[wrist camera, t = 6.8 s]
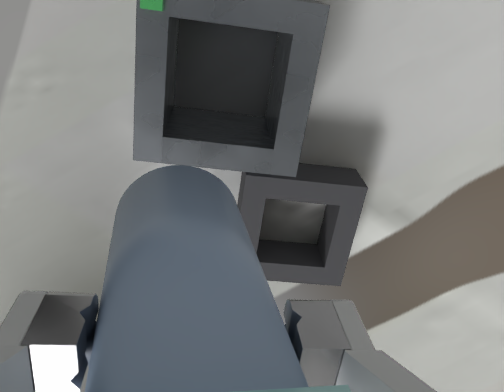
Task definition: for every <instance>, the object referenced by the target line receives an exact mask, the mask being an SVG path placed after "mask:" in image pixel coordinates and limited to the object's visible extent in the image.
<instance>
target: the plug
mask: <svg viewBox="0 0 504 392" xmlns="http://www.w3.org/2000/svg"><path fill="white" fill-rule="evenodd" d="M85 392H351V390H350V388H349V386H348V385H334V386H317V387H309V386H308V383H307V381H306V378H305V376H304V373H303V371H302V368H301V366H300V363H299V361H298V358H297V356H296V353H295V351H294V348H293V345H292V343H291V340H290V338H289V335H288V333H287V330H286V328H285V325H284V323H283V320H282V318H281V315H280V313H279V310H278V307H277V305H276V302H275V300H274V297H273V295H272V292H271V290H270V287H269V285H268V282H267V280H266V277H265V275H264V272H263V269H262V267H261V264H260V262H259V259H258V257H257V254H256V252H255V249H254V247H253V244H252V242H251V239H250V237H249V234H248V231H247V229H246V226H245V224H244V221H243V219H242V216H241V214H240V211H239V209H238V206H237V204H236V201H235V199H234V196H233V195H232V193H231V191H230V190H229V188H228V187H227V186H226V185H225V184H224V183H223V182H222V181H221V180H220V179H219V178H217V177H216V176H215V175H213V174H211V173H209V172H207V171H205V170H203V169H200V168H196V167H192V166H185V165H173V166H166V167H162V168H158V169H155V170H153V171H150V172H148V173H146V174H144V175H143V176H141V177H140V178H138V179H137V180H136V181H134V182H133V183H132V184H131V185H130V186H129V187H128V189H127V190H126V191H125V192H124V194H123V196H122V198H121V199H120V202H119V204H118V207H117V211H116V215H115V221H114V227H113V233H112V238H111V244H110V250H109V255H108V261H107V267H106V272H105V278H104V284H103V289H102V295H101V301H100V307H99V312H98V318H97V324H96V329H95V335H94V341H93V346H92V352H91V358H90V364H89V369H88V375H87V381H86V386H85Z"/></svg>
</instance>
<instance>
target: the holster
mask: <svg viewBox="0 0 504 392" xmlns="http://www.w3.org/2000/svg"><path fill="white" fill-rule="evenodd" d="M367 189H368V187H367V186H366V184H365V183H364V181H363V180H362V178H361V176H360V175H359V173H358V172H357V170H356V169H348V168H339V167H329V166H320V165H311V164H301V163H299V164H298V169H297V174H296V177H290V176H280V175H271V174H261V173H251V172H242V176H241V183H240V190H239V198H238V205H237V206H238V209H239V211H240V214H241V216H242V219H243V221H244V224H245V226H246V229H247V231H248V234H249V237H250V239H251V242H252V244H253V247H254V249H255V252H256V254H257V257H258V259H259V262H260V264H261V267H262V269H263V272H264V275H265V277H266V280H268V281H281V282H294V283H307V284H320V285H334V286H341V282H342V279H343V275H344V272H345V268H346V264H347V261H348V257H349V254H350V250H351V246H352V243H353V239H354V236H355V232H356V228H357V225H358V221H359V218H360V214H361V211H362V207H363V203H364V200H365V196H366V193H367ZM266 198H267V199H277V200H287V201H297V202H308V203H318V204H326V209H325V213H324V217H323V221H322V225H321V230H320V234H319V238H318V242H317V245H316V244H305V243H293V242H282V241H271V240H259V236H260V230H261V224H262V219H263V213H264V207H265V201H266Z"/></svg>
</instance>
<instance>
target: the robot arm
mask: <svg viewBox="0 0 504 392" xmlns="http://www.w3.org/2000/svg"><path fill="white" fill-rule="evenodd" d="M98 309H99V307H98V296H97V295H96V294H90V293H70V292H50V291H49V292H45V291H23V292H22V293H20V294H19V295H18V297H17V299H16V301H15V302H14V304H13V306H12V307H11V309H10V311H9V312H8V314H7V316H6V318H5V319H4V321H3V323H2V324H1V326H0V392H85V386H86V381H87V375H88V369H89V364H90V358H91V352H92V346H93V341H94V335H95V329H96V324H97V322H96V321H95V319H96V316H97V313H98ZM284 318H285V322H286V324H285V328H286V330H287V333H288V335H289V338H290V340H291V343H292V345H293V348H294V351H295V353H296V356H297V358H298V361H299V363H300V366H301V368H302V371H303V373H304V376H305V378H306V381H307V383H308V386H309V387H317V386H334V385H348V386H349V388H350V390H351V392H437V391H435V390H434V389H433V388H431V387H430V386H429V385H427V384H426V383H425V382H423V381H422V380H421V379H419V378H418V377H417V376H415V375H414V374H413V373H411V372H410V371H409V370H407V369H406V368H405V367H403V366H402V365H401V364H399V363H398V362H397V361H395V360H394V359H393V358H391V357H390V356H389V355H387V354H386V353H385V352H383V351H381V350H375V348H374V346H373V344H372V341H371V339H370V337H369V335H368V333H367V331H366V329H365V326H364V324H363V322H362V320H361V318H360V316H359V313H358V311H357V309H356V307H355V305H354V303H353V302H352V301H351V300H290V299H288V300H287V301H286V304H285V308H284Z"/></svg>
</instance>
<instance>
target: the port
mask: <svg viewBox="0 0 504 392" xmlns="http://www.w3.org/2000/svg"><path fill="white" fill-rule="evenodd" d="M329 7H330V5H327V4H324V3H321V2H318V1H315V0H137V9H136V53H135V97H134V141H133V160H136V161H146V162H155V163H165V164H175V165H185V166H194V167H203V168H213V169H223V170H232V171H242V172H251V173H261V174H271V175H280V176H290V177H296V174H297V169H298V164H299V159H300V154H301V149H302V144H303V139H304V134H305V129H306V124H307V119H308V113H309V108H310V103H311V98H312V93H313V88H314V83H315V78H316V73H317V68H318V63H319V58H320V53H321V48H322V43H323V38H324V33H325V28H326V23H327V18H328V12H329ZM179 18H182V19H189V20H196V21H203V22H210V23H217V24H225V25H232V26H239V27H246V28H253V29H260V30H267V31H275V32H278V36H277V42H276V48H275V55H274V61H273V68H272V74H271V81H270V87H269V94H268V100H267V107H266V113H265V117H260V116H252V115H243V114H235V113H226V112H218V111H210V110H201V109H193V108H184V107H176V106H174V93H175V77H176V60H177V44H178V28H179Z"/></svg>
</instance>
